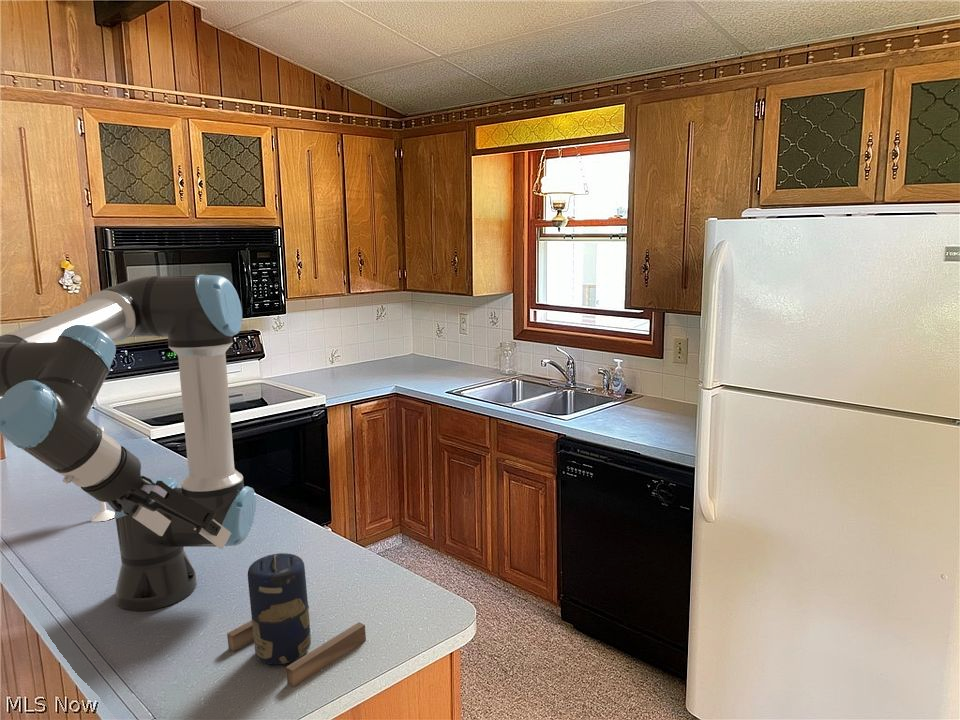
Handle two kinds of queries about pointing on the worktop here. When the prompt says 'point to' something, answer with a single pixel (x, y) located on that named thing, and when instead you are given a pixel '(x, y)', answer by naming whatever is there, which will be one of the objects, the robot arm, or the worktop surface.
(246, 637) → the walnut chute
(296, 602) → the canister
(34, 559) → the worktop surface
